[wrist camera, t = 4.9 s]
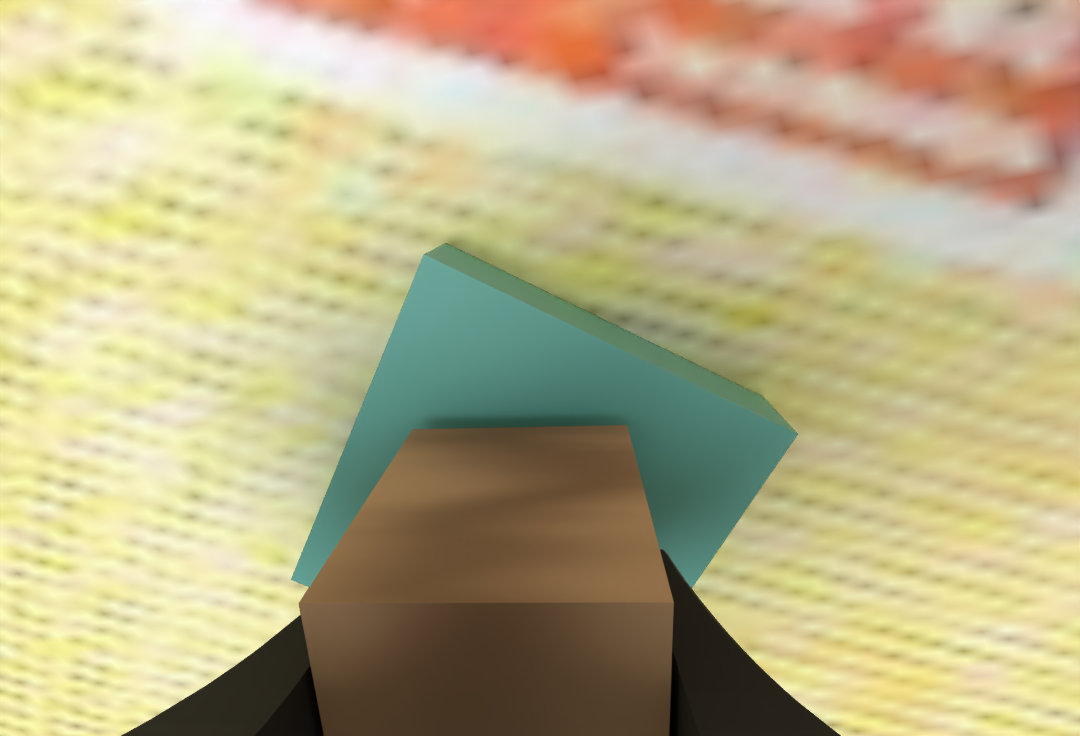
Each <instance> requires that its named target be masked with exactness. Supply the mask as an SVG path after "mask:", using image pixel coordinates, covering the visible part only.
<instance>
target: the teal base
mask: <svg viewBox="0 0 1080 736" xmlns="http://www.w3.org/2000/svg"><path fill="white" fill-rule="evenodd" d="M604 425H627V427H628V431H629V434H630V438H631V442H632V446H633V450H634V453H635V457H636V461H637V465H638V469H639V472H640V476H641V480H642V484H643V488H644V491H645V495H646V499H647V503H648V507H649V510H650V514H651V518H652V522H653V526H654V529H655V533H656V537H657V541H658V545H659V548H660V549H663V550H664V551H665V552H666V553H667V554H668V555H669V557H670V558H671V560H672V561H673V563H674V564H675V566H676V567H677V569H678V570H679V572H680V573H681V575H682V576H683V577H684V579H685V580H686V582H687V583H688V584H689V586H690V587H691V588H692V587H693V586H694V584H695V583H696V581H697V580H698V578H699V577H700V576H701V574H702V573H703V571H704V570H705V568H706V567H707V565H708V564H709V562H710V561H711V560H712V558H713V557H714V555H715V554H716V552H717V551H718V549H719V548H720V547H721V545H722V544H723V542H724V541H725V539H726V538H727V536H728V535H729V533H730V532H731V531H732V529H733V528H734V526H735V525H736V523H737V522H738V520H739V519H740V517H741V516H742V515H743V513H744V512H745V510H746V509H747V507H748V506H749V504H750V503H751V501H752V500H753V499H754V497H755V496H756V494H757V493H758V491H759V490H760V488H761V487H762V485H763V484H764V483H765V481H766V480H767V478H768V477H769V475H770V474H771V472H772V471H773V470H774V468H775V467H776V465H777V464H778V462H779V461H780V459H781V458H782V456H783V455H784V454H785V452H786V451H787V449H788V448H789V446H790V445H791V443H792V442H793V440H794V439H795V438H796V436H797V435H798V433H797V432H796V431H795V430H794V429H793V428H792V427H791V426H790V425H789V424H788V423H787V422H786V421H785V419H784V418H783V417H782V416H781V415H780V414H779V413H778V412H777V411H776V410H775V409H774V408H773V407H772V406H771V404H770V403H769V402H768V401H767V400H766V399H765V398H764V397H762V396H760V395H758V394H756V393H754V392H752V391H750V390H748V389H746V388H744V387H742V386H740V385H738V384H735V383H733V382H731V381H729V380H727V379H725V378H723V377H721V376H719V375H717V374H715V373H713V372H711V371H709V370H707V369H705V368H702V367H700V366H698V365H696V364H694V363H692V362H690V361H688V360H686V359H684V358H682V357H680V356H678V355H676V354H674V353H671V352H669V351H667V350H665V349H663V348H661V347H659V346H657V345H655V344H653V343H651V342H649V341H647V340H645V339H643V338H641V337H638V336H636V335H634V334H632V333H630V332H628V331H626V330H624V329H622V328H620V327H618V326H616V325H614V324H612V323H610V322H607V321H605V320H603V319H601V318H599V317H597V316H595V315H593V314H591V313H589V312H587V311H585V310H583V309H581V308H579V307H577V306H574V305H572V304H570V303H568V302H566V301H564V300H562V299H560V298H558V297H556V296H554V295H552V294H550V293H548V292H546V291H543V290H541V289H539V288H537V287H535V286H533V285H531V284H529V283H527V282H525V281H523V280H521V279H519V278H517V277H515V276H513V275H510V274H508V273H506V272H504V271H502V270H500V269H498V268H496V267H494V266H492V265H490V264H488V263H486V262H484V261H482V260H479V259H477V258H475V257H473V256H471V255H469V254H467V253H465V252H463V251H461V250H459V249H457V248H455V247H453V246H451V245H448V244H446V243H445V244H443V245H441V246H439V247H437V248H436V249H434V250H432V251H430V252H428V253H426V254H424V255H423V258H422V260H421V263H420V265H419V268H418V270H417V272H416V275H415V277H414V280H413V282H412V285H411V287H410V290H409V292H408V294H407V297H406V299H405V302H404V304H403V307H402V309H401V312H400V314H399V316H398V319H397V321H396V324H395V326H394V329H393V331H392V334H391V336H390V338H389V341H388V343H387V346H386V348H385V351H384V353H383V356H382V358H381V361H380V363H379V365H378V368H377V370H376V373H375V375H374V378H373V380H372V383H371V385H370V387H369V390H368V392H367V395H366V397H365V400H364V402H363V405H362V407H361V409H360V412H359V414H358V417H357V419H356V422H355V424H354V427H353V429H352V431H351V434H350V436H349V439H348V441H347V444H346V446H345V449H344V451H343V453H342V456H341V458H340V461H339V463H338V466H337V468H336V471H335V473H334V475H333V478H332V480H331V483H330V485H329V488H328V490H327V493H326V495H325V497H324V500H323V502H322V505H321V507H320V510H319V512H318V515H317V517H316V520H315V522H314V524H313V527H312V529H311V532H310V534H309V537H308V539H307V542H306V544H305V546H304V549H303V551H302V554H301V556H300V559H299V561H298V564H297V566H296V568H295V571H294V573H293V576H292V578H291V580H293V581H296V582H298V583H300V584H303V585H305V586H308V587H310V585H311V584H312V582H313V581H314V579H315V578H316V576H317V575H318V573H319V572H320V570H321V569H322V567H323V565H324V564H325V562H326V561H327V559H328V558H329V556H330V555H331V553H332V552H333V550H334V549H335V547H336V546H337V544H338V543H339V541H340V539H341V538H342V536H343V535H344V533H345V532H346V530H347V529H348V527H349V526H350V524H351V523H352V521H353V520H354V518H355V517H356V515H357V514H358V512H359V510H360V509H361V507H362V506H363V504H364V503H365V501H366V500H367V498H368V497H369V495H370V494H371V492H372V491H373V489H374V488H375V486H376V484H377V483H378V481H379V480H380V478H381V477H382V475H383V474H384V472H385V471H386V469H387V468H388V466H389V465H390V463H391V462H392V460H393V459H394V457H395V455H396V454H397V452H398V451H399V449H400V448H401V446H402V445H403V443H404V442H405V440H406V439H407V437H408V436H409V434H410V433H411V431H412V429H447V428H500V427H552V426H604Z"/></svg>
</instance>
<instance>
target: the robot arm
mask: <svg viewBox="0 0 1080 736" xmlns="http://www.w3.org/2000/svg"><path fill="white" fill-rule="evenodd" d="M660 552H661V556H662V560H663V564H664V567H665V571H666V575H667V579H668V583H669V586H670V590H671V594H672V598H673V602H674V609H673V639H672V668H671V698H670V728H669V736H841V735H839V734H838V733H837V732H835V731H834V730H833V729H832V728H830V727H829V726H828V725H826V724H825V723H824V722H823V721H821V720H820V719H819V718H818V717H816V716H815V715H814V714H813V713H811V712H810V711H809V710H808V709H806V708H805V707H804V706H802V705H801V704H800V703H799V702H798V701H796V700H795V699H794V698H793V697H792V696H791V695H790V694H788V693H787V692H786V691H785V690H784V689H783V688H782V687H781V686H780V685H778V684H777V683H776V682H775V681H774V680H773V679H772V678H771V677H770V676H769V675H768V674H767V673H766V672H765V671H764V670H763V669H762V668H760V667H759V666H758V665H757V664H756V663H755V662H754V660H753V659H752V658H751V657H750V656H749V655H748V654H747V653H746V652H745V651H744V650H743V649H742V648H741V647H740V646H739V645H738V644H737V643H736V641H735V640H734V639H733V638H732V637H731V636H730V635H729V634H728V633H727V631H726V630H725V629H724V628H723V627H722V626H721V625H720V623H719V622H718V621H717V620H716V619H715V617H714V616H713V615H712V614H711V612H710V611H709V610H708V609H707V608H706V606H705V605H704V604H703V603H702V601H701V600H700V599H699V598H698V596H697V595H696V594H695V592H694V591H693V590H692V588H691V587H690V586H689V584H688V583H687V582H686V580H685V579H684V577H683V576H682V575H681V573H680V572H679V570H678V569H677V567H676V566H675V564H674V563H673V561H672V560H671V558H670V557H669V555H668V554H667V553H666V552H665V551H664V550H663V549H660ZM122 736H324V734H323V728H322V723H321V718H320V713H319V707H318V702H317V697H316V692H315V686H314V681H313V676H312V671H311V665H310V660H309V655H308V650H307V644H306V639H305V634H304V629H303V624H302V618H301V615H300V616H298V617H297V618H296V619H295V620H294V621H292V622H291V623H290V624H289V625H287V626H286V627H285V628H284V629H282V630H281V631H280V632H279V633H278V634H276V635H275V636H274V637H273V638H271V639H270V640H269V641H268V642H266V643H265V644H264V645H263V646H261V647H260V648H259V649H257V650H256V651H255V652H253V653H252V654H251V655H249V656H248V657H247V658H245V659H244V660H243V661H241V662H240V663H238V664H237V665H236V666H234V667H233V668H231V669H230V670H228V671H227V672H225V673H224V674H222V675H221V676H220V677H218V678H217V679H215V680H214V681H212V682H211V683H209V684H208V685H206V686H205V687H203V688H202V689H200V690H198V691H197V692H195V693H193V694H192V695H190V696H188V697H187V698H185V699H184V700H182V701H180V702H179V703H177V704H175V705H174V706H172V707H170V708H169V709H167V710H165V711H164V712H162V713H160V714H159V715H157V716H156V717H154V718H152V719H151V720H149V721H147V722H145V723H144V724H142V725H140V726H138V727H136V728H134V729H133V730H131V731H129V732H127V733H125V734H123V735H122Z"/></svg>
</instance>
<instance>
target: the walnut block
mask: <svg viewBox="0 0 1080 736" xmlns="http://www.w3.org/2000/svg"><path fill="white" fill-rule="evenodd" d="M299 608H300V613H301V618H302V624H303V629H304V634H305V639H306V644H307V650H308V655H309V660H310V665H311V671H312V676H313V681H314V686H315V692H316V697H317V702H318V707H319V713H320V718H321V723H322V728H323V734H324V736H669V728H670V698H671V668H672V639H673V609H674V602H673V598H672V594H671V590H670V586H669V583H668V579H667V575H666V571H665V567H664V564H663V560H662V556H661V552H660V548H659V545H658V541H657V537H656V533H655V529H654V526H653V522H652V518H651V514H650V510H649V507H648V503H647V499H646V495H645V491H644V488H643V484H642V480H641V476H640V472H639V469H638V465H637V461H636V457H635V453H634V450H633V446H632V442H631V438H630V434H629V431H628V427H627V425H604V426H552V427H500V428H447V429H412V431H411V433H410V434H409V436H408V437H407V439H406V440H405V442H404V443H403V445H402V446H401V448H400V449H399V451H398V452H397V454H396V455H395V457H394V459H393V460H392V462H391V463H390V465H389V466H388V468H387V469H386V471H385V472H384V474H383V475H382V477H381V478H380V480H379V481H378V483H377V484H376V486H375V488H374V489H373V491H372V492H371V494H370V495H369V497H368V498H367V500H366V501H365V503H364V504H363V506H362V507H361V509H360V510H359V512H358V514H357V515H356V517H355V518H354V520H353V521H352V523H351V524H350V526H349V527H348V529H347V530H346V532H345V533H344V535H343V536H342V538H341V539H340V541H339V543H338V544H337V546H336V547H335V549H334V550H333V552H332V553H331V555H330V556H329V558H328V559H327V561H326V562H325V564H324V565H323V567H322V569H321V570H320V572H319V573H318V575H317V576H316V578H315V579H314V581H313V582H312V584H311V585H310V587H309V588H308V590H307V591H306V593H305V595H304V596H303V598H302V599H301V601H300V602H299Z"/></svg>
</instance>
